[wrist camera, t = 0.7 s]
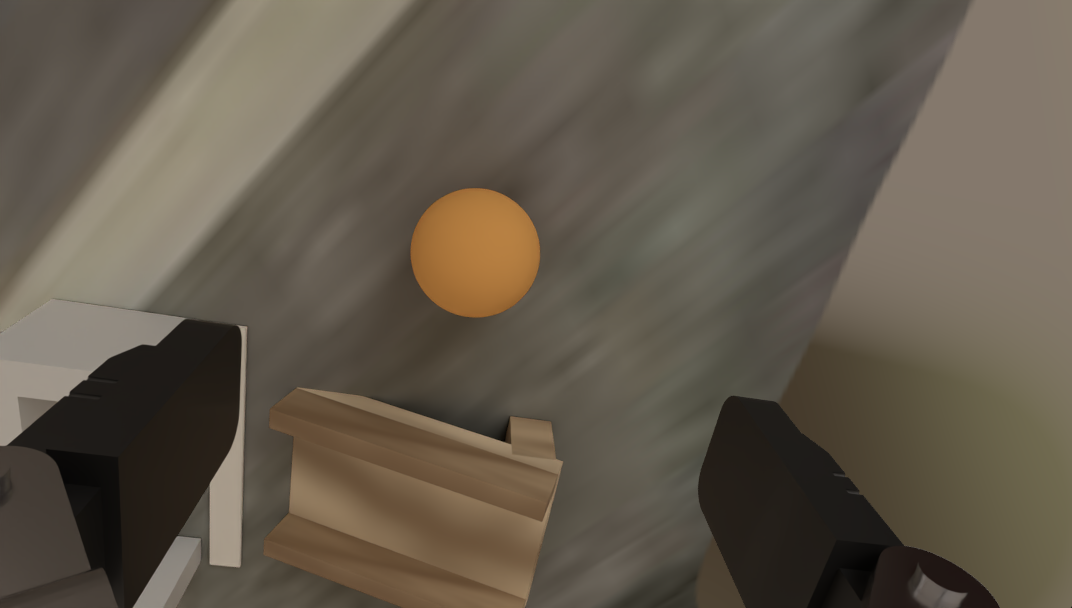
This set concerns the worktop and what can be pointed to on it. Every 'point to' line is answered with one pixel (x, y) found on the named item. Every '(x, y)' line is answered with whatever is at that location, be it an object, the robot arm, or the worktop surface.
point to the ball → (475, 252)
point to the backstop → (59, 366)
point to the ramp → (413, 502)
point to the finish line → (230, 489)
